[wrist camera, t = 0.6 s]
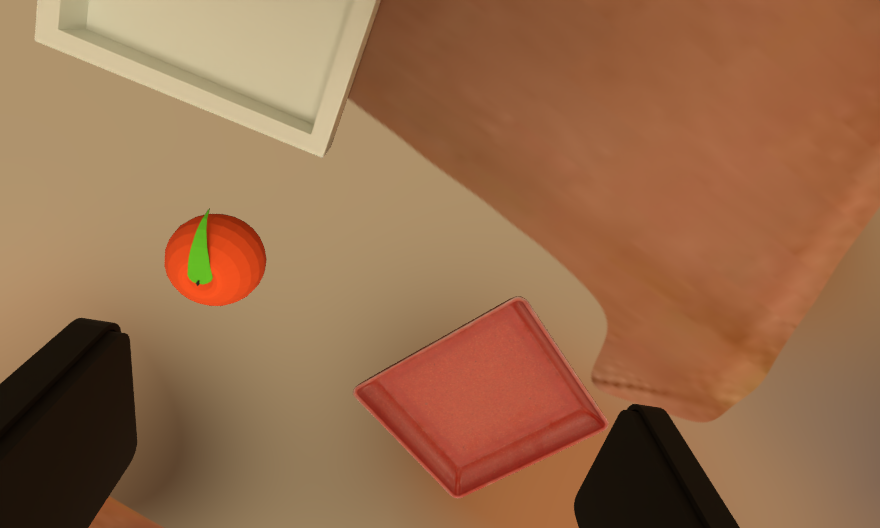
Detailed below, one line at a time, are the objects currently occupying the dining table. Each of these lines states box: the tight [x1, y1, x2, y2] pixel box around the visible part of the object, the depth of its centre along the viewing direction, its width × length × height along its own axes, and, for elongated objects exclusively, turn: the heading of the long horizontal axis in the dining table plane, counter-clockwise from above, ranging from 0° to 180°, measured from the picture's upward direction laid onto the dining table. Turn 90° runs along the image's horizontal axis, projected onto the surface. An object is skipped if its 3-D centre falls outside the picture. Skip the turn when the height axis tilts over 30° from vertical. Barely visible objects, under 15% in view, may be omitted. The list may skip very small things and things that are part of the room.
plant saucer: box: [353, 297, 609, 498], centre depth 46 cm, size 18×18×3 cm
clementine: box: [165, 209, 266, 306], centre depth 36 cm, size 8×7×7 cm
